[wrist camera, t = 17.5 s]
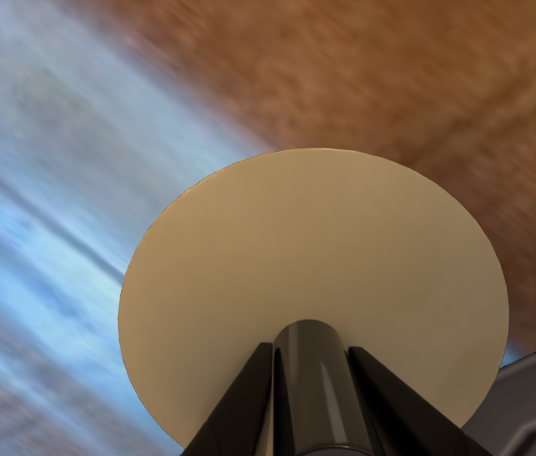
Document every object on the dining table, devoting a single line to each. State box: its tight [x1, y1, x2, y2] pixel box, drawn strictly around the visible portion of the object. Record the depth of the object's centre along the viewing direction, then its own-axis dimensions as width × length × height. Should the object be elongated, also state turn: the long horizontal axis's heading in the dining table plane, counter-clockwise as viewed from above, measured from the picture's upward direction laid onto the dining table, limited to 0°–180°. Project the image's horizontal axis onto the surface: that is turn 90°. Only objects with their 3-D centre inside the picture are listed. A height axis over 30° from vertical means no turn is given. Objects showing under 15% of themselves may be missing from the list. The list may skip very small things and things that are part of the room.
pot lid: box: [118, 147, 509, 456], centre depth 7 cm, size 13×13×5 cm
